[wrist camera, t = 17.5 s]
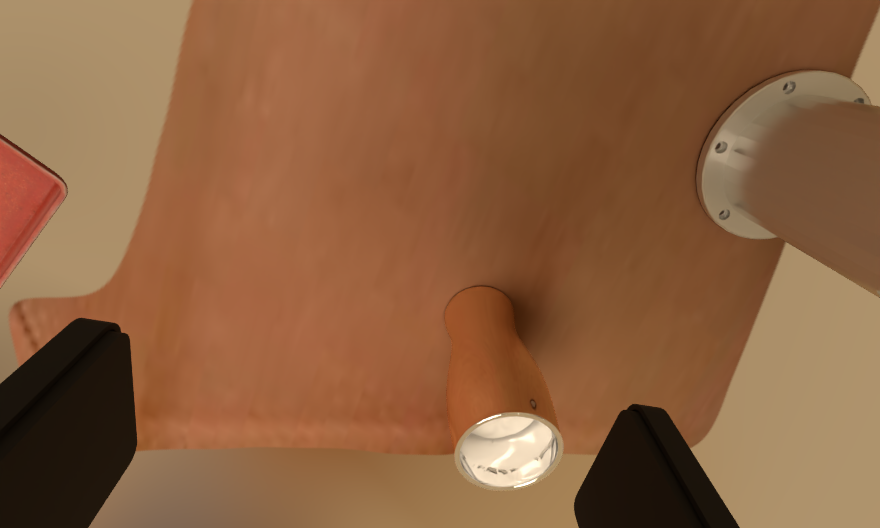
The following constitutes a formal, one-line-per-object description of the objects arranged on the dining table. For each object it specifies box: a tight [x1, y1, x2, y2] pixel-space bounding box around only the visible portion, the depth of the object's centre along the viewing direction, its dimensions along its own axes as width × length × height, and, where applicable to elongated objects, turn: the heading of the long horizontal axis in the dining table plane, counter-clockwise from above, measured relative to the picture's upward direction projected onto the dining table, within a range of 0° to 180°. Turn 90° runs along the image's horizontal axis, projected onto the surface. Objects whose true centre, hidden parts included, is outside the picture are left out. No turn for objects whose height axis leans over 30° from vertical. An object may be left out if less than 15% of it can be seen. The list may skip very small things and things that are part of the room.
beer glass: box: [444, 286, 564, 491], centre depth 35 cm, size 7×7×15 cm
